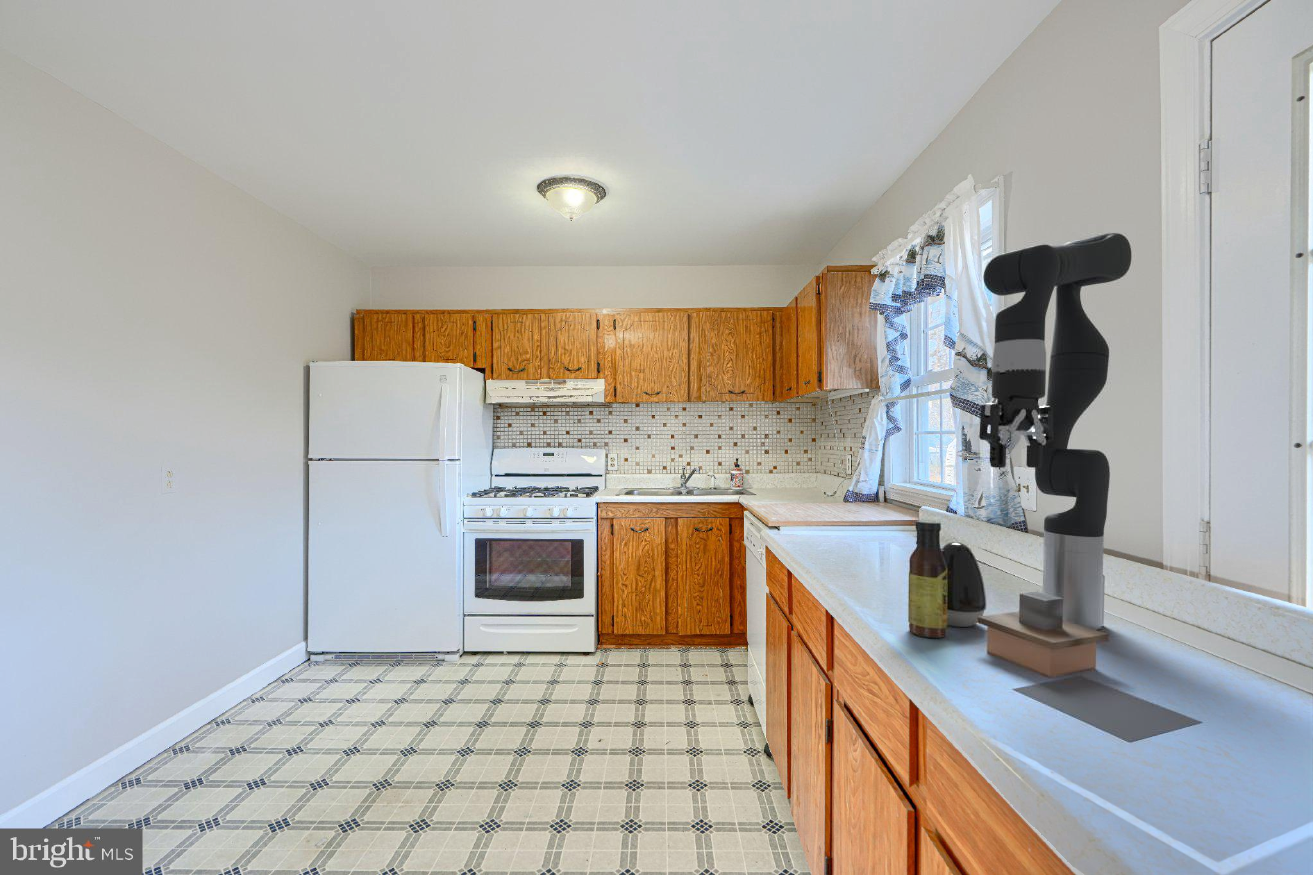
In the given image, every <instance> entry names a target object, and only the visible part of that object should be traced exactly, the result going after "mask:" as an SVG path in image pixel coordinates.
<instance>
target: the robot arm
mask: <svg viewBox="0 0 1313 875" xmlns="http://www.w3.org/2000/svg"><path fill="white" fill-rule="evenodd" d="M1131 264H1132V247H1131V244H1130V241H1129V240H1128V238H1127V237H1126V236H1125V235H1123V234H1121V233H1117V232H1109V233H1102V234H1100V235H1098V234H1097V235H1094V236H1090V237H1085V238H1080V239H1077V240H1073V241H1069V242H1066V243H1064V244H1063V245H1049V244H1045V243H1043V244H1036V245H1032V246H1031V245H1030V246H1027V247H1024V248H1020V249H1015V250H1012V251H1007V252H1003V253H999V254H997V255H995V256H994V257H992V258H991V259H990V260H989V261H988V262H987V264H986V266H985V267H984V270H983V282H984V285H985V287H986V289H988V291H989V292H991V293H992V294H994V295H996V296H1001V297H1003V296H1004V297H1005V296H1010V295H1015V294H1016V295H1017V294H1020V293H1024V294H1023V296H1022V298H1021V299H1020V300H1019V301H1017V302H1015V303H1013V304H1012V305H1008V306H1007V307H1004V308H1002V309H1000V310H998V311H997V313H996V315H995V321H994V346H993V347H994V348H993V353H992V364H991V365H992V366H991V367H992V369H991V372H992V373H991V375H992V376H991V397H992V398H993V399H994V400H997V401H996V402H993V403H992V402H988V403H982V404H981V406H980V417H979V418H980V420H979V421H980V422H979V433H978V434H979V435H978V438H979V440H981V441H985V442H987V443H988V444H989V465H990V467H991V468H995V469H997V468H1000V469H1002V468H1003V469H1004V468H1006V464H1007V445H1006V442H1007V440H1008V439H1009V437H1010V436H1011V435H1013V434H1014V433H1015V432H1018V433H1019V434H1020V435H1021V436H1023V437H1024V439H1025V441H1026V443H1027V445H1026V464H1025V465H1026V466H1027V467H1028V468H1035V469H1034V478H1035V484H1036V486H1037V490H1039V491H1040V492H1041V493H1042V494H1045V495H1048V496H1049V495H1050V496H1058V497H1067V498H1069V497H1070V498H1075V501H1074V505H1073V506H1072V507H1071V508H1070V509H1068V510H1066V511H1062V512H1057V513H1052V514H1048V515H1046V516H1045V518H1044V519H1043V520H1044V521H1043V556H1042V557H1043V558H1042V562H1043V563H1042V593H1044V594H1048V595H1052V596H1055V597H1059V598H1063V620H1064V621H1067V622H1070V623H1074V624H1077V625H1080V626H1084V627H1087V628H1090V629H1093V630H1097V631H1099V630H1101V629H1102V628H1103V627H1102V626H1103V625H1104V624H1105V586H1106V585H1105V583H1106V577H1105V575H1104V539H1105V536H1104V535H1105V532H1104V531H1105V526H1106V521H1107V517H1108V516H1107V515H1108V501H1109V500H1108V499H1109V488H1110V478H1111V477H1110V476H1111V471H1110V469H1111V468H1110V463H1109V460H1108V458H1107V456H1106V454H1105V453H1104V452H1102V451H1100V450H1098V449H1081V448H1080V449H1079V448H1068V444H1069V441H1070V437H1071V434H1072V431H1073V429H1074V427H1075V425H1076V423H1077V421H1078V420H1079V418H1081V416H1082V415H1083V414H1084V413H1085V411H1086V410H1087V409H1088V408H1089V407H1090V406H1091V404H1092V403H1093V402H1094V401H1095V400H1096V399H1097V397H1098V396H1099V395H1100V394H1101V392H1102V390H1103V389H1104V388H1105V386H1106V383H1107V380H1108V371H1109V363H1110V362H1109V361H1110V348H1109V345H1108V342H1107V341H1106V339H1105V337H1104V335H1103V334H1101V332H1100V331H1099V330H1098V328H1097V327H1096V326H1095V324H1094V323H1093V322H1092V321H1091V319H1090V318H1089V317H1088V315H1087V313H1086V312H1085V310H1084V308H1083V306H1082V305H1083V304H1082V299H1081V290H1082V287H1086V286H1093V285H1099V284H1106V283H1107V284H1108V283H1111V282H1114V281H1117V280H1120V279H1121V278H1123V277H1124V276H1125V275H1126V274H1127V273H1128V271H1129V270H1130V267H1131ZM1054 290H1055V316H1054V326H1053V337H1052V343H1051V349H1050V350H1051V351H1050V358H1049V369H1048V381H1047V380H1046V379H1047V378H1046V377H1047V352H1046V342H1045V340H1046V316H1047V313H1048V308H1049V304H1050V301H1051V298H1052V295H1053V292H1054ZM1046 382H1047V383H1046ZM1046 384H1047V395H1046ZM1045 396H1046V405H1043V406H1040V404H1039V400H1040V399H1044V398H1045ZM989 426H990V432H988V429H989V428H988V427H989Z"/></svg>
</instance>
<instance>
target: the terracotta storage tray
mask: <svg viewBox="0 0 1313 875" xmlns="http://www.w3.org/2000/svg"><path fill="white" fill-rule="evenodd" d="M986 627H987V632H986V634H987V636H986V652H987V653H988V654H991V655H992V656H996V657H998V658H1000V659H1003V660H1005V661H1007V662H1009V663H1012V664H1016V665H1018V666H1021V667H1022V668H1025V669H1027V670H1030V671H1033V672H1035V673H1038V674H1040V675H1042V676H1045V677H1048V678H1050V679H1051V678H1055V677H1060V676H1065V675H1066V676H1067V675H1071V674H1076V673H1082V672H1086V671H1091V670H1095V669H1097V668H1096V666H1097V643H1091V644H1085V645H1079V646H1073V647H1067V648H1062V649H1056V650H1052V649H1049V648H1046V647H1044V646H1041V645H1038V644H1035V643H1032V642H1030V641H1027V640H1024V639H1021V638H1018V637H1016V636H1013V635H1010V634H1007V633H1004V632H1002V631H999V630H996V629H993V628H990V627H988V626H986Z"/></svg>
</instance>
